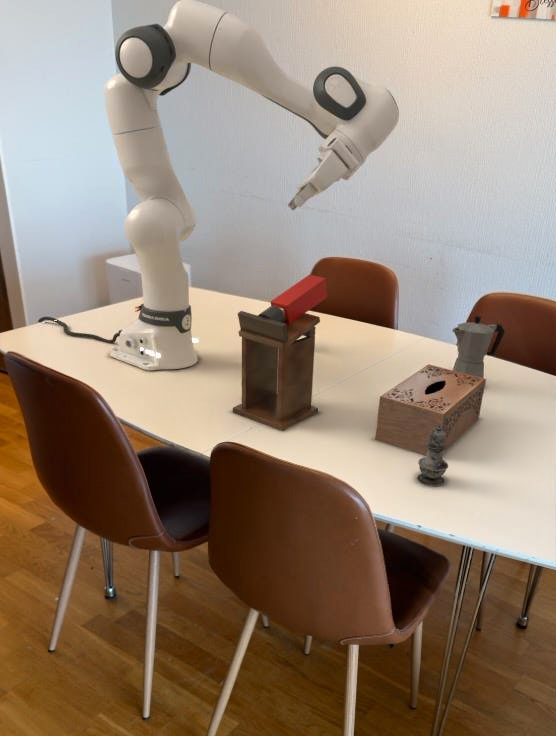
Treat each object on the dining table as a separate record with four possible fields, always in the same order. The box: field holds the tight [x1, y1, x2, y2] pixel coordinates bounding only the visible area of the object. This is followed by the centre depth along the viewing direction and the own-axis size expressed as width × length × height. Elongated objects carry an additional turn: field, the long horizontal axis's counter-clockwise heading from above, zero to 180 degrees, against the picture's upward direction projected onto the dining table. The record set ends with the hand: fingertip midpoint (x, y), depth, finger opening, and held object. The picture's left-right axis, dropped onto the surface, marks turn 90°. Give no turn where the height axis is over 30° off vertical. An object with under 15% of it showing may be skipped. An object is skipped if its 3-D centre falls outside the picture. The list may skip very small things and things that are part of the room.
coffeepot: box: [452, 315, 506, 378], centre depth 184 cm, size 15×9×18 cm, turn 113°
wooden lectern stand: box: [232, 310, 321, 432], centre depth 156 cm, size 14×14×23 cm
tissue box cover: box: [374, 363, 487, 456], centre depth 159 cm, size 26×14×10 cm, turn 151°
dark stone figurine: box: [417, 424, 449, 487], centre depth 137 cm, size 6×6×12 cm
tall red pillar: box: [257, 274, 328, 325], centre depth 153 cm, size 19×4×9 cm, turn 146°
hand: (293, 206), depth 152 cm, fingers open, 8 cm apart
